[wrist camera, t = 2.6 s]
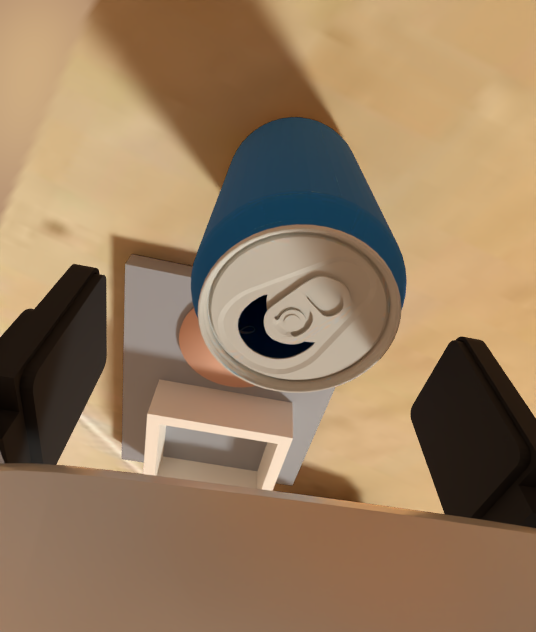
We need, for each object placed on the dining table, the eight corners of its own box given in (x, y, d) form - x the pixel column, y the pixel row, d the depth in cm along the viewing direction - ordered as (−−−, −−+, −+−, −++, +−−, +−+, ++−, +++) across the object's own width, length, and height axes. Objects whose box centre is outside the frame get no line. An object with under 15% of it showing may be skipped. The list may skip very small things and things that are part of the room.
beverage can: (203, 175, 21) (132, 308, 12) (303, 81, 19) (323, 150, 9) (284, 262, 24) (282, 429, 14) (381, 190, 21) (461, 335, 12)
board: (131, 254, 24) (106, 293, 21) (364, 301, 25) (376, 345, 22) (126, 446, 34) (108, 493, 31) (292, 472, 36) (292, 521, 32)
